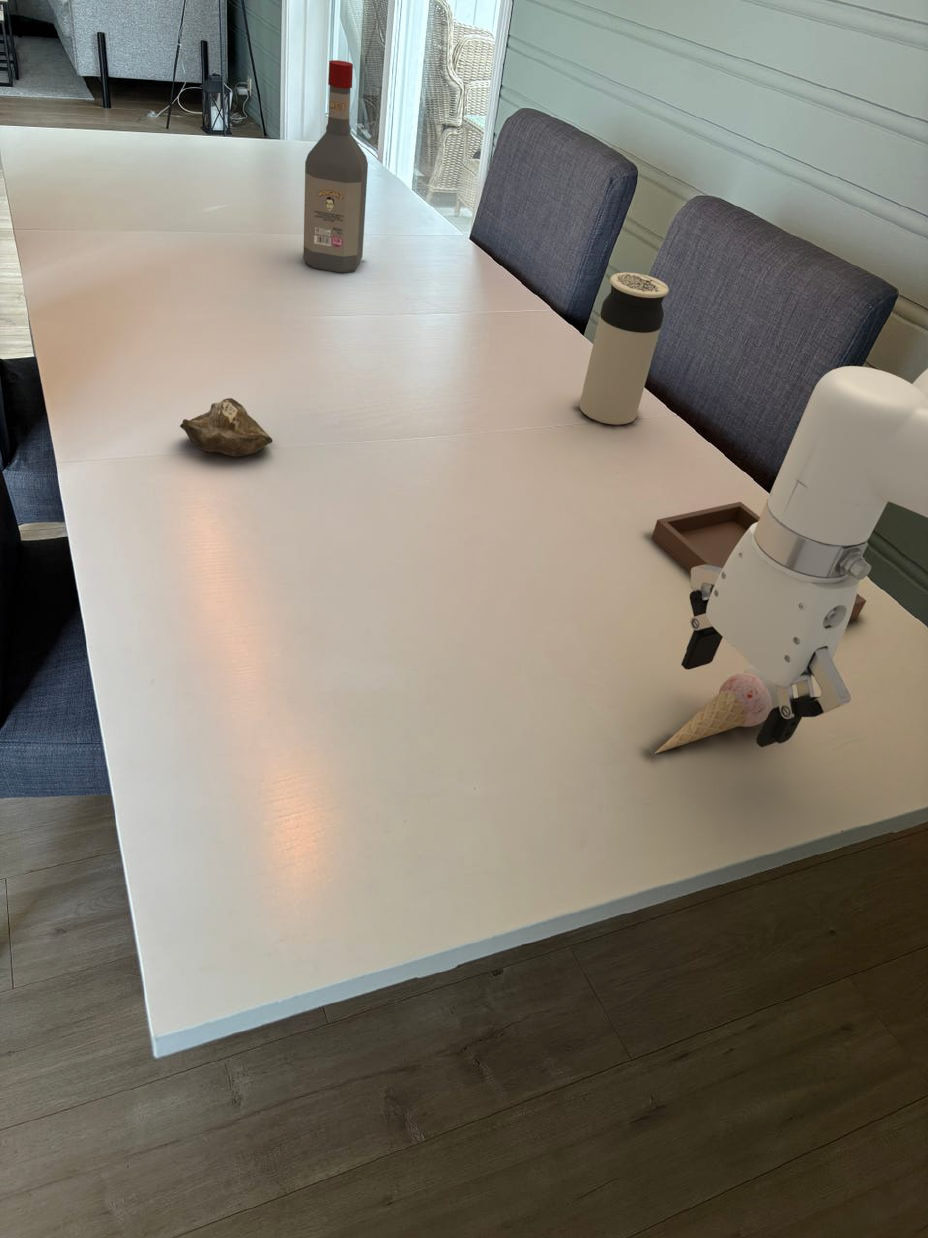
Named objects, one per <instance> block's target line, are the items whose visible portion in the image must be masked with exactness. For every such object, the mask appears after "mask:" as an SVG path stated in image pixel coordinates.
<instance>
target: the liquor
mask: <svg viewBox="0 0 928 1238" xmlns="http://www.w3.org/2000/svg"><path fill="white" fill-rule="evenodd" d="M353 71H354V64H353V63H352V62H349V61H346V60H345V61H344V60H337V59H336V60H335V59H332V60H329V61H328V78H327V79H328V80H327V81H328V84H327V85H328V86H329V89H328V91H329V94H328V111H327V112H328V115H327V125H326V126H325V132H324V134H323V135H322V136H321V138H320V139H319V140H318V141H317V142H316V143H315V145H314V146H313V147H312V148H311V150H310V151H309V152H308V153H307V156H306V158H305V163H304V202H303V203H304V207H303V208H304V209H303V210H304V211H303V254H302V255H303V258H302V259H303V260H304V262H305V264H306V265H308V266H310V267H311V268H313V269H317V270H322V271H327V272H333V273H340V274H343V273H344V274H345V273H351V272H355V271H356V269H357V267H358V266H359V264H360V262H361V260H362V259H363V253H364V252H363V251H364V238H365V237H364V235H365V218H366V203H367V188H368V169H369V162H368V158H367V155H366V154H365V152H364V150H362V148H361V146H360V145H359V143H358V142H357V140H356V139H355V137H354V136H353V135H352V133H351V130H352V128H351V124H350V113H351V112H350V111H351V89H353V75H354V74H353V73H354V72H353Z"/></svg>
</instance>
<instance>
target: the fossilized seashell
mask: <svg viewBox="0 0 928 1238" xmlns="http://www.w3.org/2000/svg"><path fill="white" fill-rule="evenodd" d="M179 427H180V429H182V430H183V431H184V432H185V434H186V436H187V437H188V439H189V441H190V442H191V443H192V444H193V445H194V446H195V447H196V448H197V449H200V450H202V451H205V452H207V453H220V454H221V453H222V454H224V455H225V456H231V457H234V458H235V457H237V458H238V457H245V456H249V455H251V454H254V453H257V452H258V451H260V450H262V449H263V448H264V447H266V446H268V445H270V444H272V443H273V438H272V437H271V436H270V435H269V434H268V432H267V431H265V430H264V429H263V428H262V427H261V425H260V424H259V423H258V422H257V421H256V420H255V419H254V418H253V417H251V416H250V415H249V414H248V412H247V409H245V407H244V406H243V404H242V403H239V402H238V401H237V400H235V399H234V398H233V397H231V398H230V397H227V398H224V399H222V401H219V402H213V403H211V405H210V409H209V410H208V411H207V412H205V413H203V414H200V415H198V416H196V417H194V418H191V419H190V420H189V419H186V418H183V420H182V423H181V424H179Z"/></svg>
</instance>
